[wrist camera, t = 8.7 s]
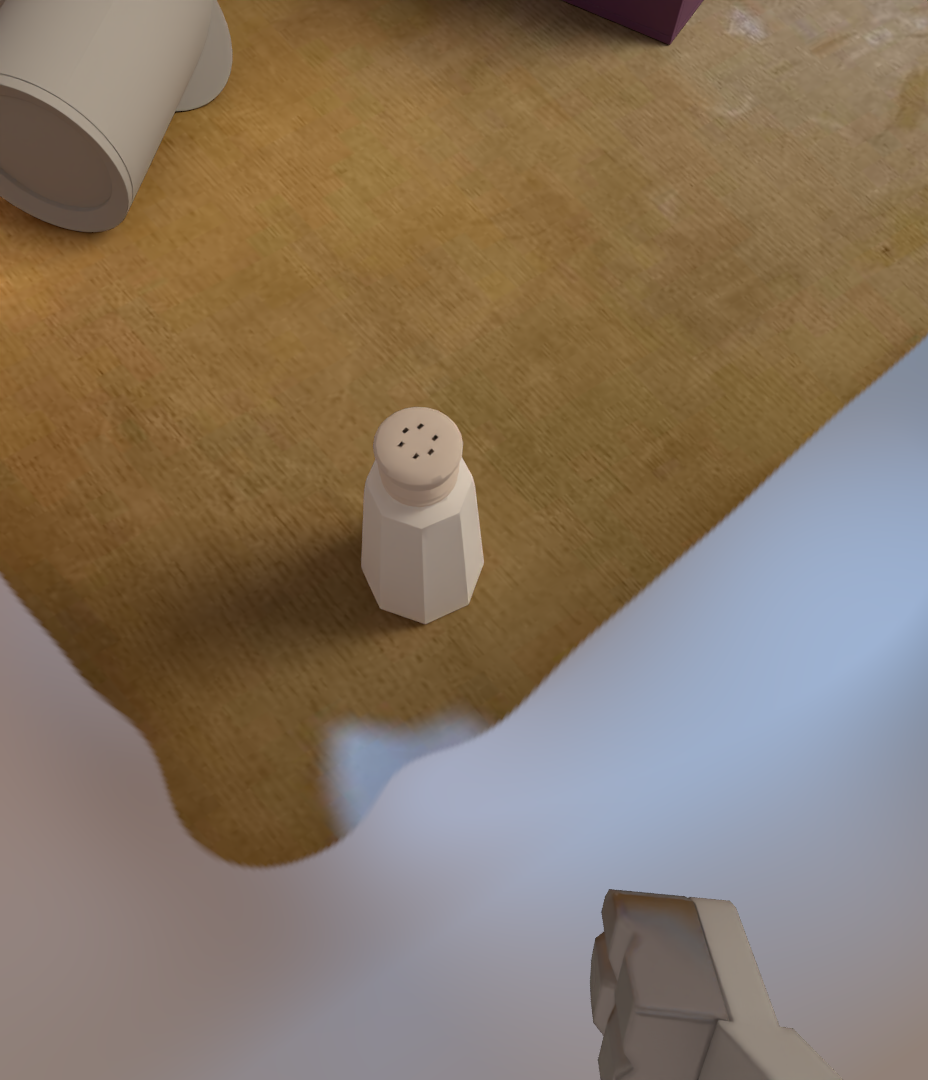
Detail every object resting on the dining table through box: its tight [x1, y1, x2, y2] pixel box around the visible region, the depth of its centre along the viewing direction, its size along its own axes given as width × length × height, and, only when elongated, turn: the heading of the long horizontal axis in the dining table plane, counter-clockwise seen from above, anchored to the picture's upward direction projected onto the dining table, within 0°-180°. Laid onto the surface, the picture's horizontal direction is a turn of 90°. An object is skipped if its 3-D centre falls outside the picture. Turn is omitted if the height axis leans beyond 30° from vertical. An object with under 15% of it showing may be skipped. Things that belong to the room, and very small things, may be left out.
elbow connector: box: [0, 0, 232, 232], centre depth 40 cm, size 18×11×20 cm
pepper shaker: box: [361, 407, 484, 624], centre depth 29 cm, size 5×5×11 cm
